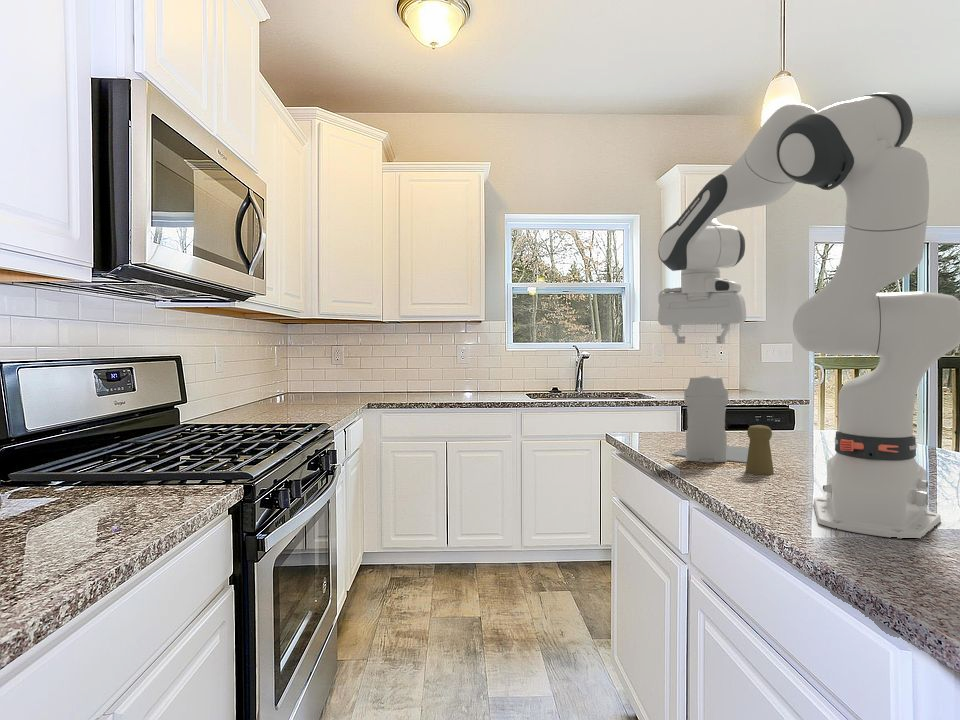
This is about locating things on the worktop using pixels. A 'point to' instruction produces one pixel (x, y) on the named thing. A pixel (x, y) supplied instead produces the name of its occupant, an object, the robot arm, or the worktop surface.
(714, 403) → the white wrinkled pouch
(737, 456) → the mat
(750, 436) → the cork
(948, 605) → the worktop surface
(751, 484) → the worktop surface
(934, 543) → the worktop surface
